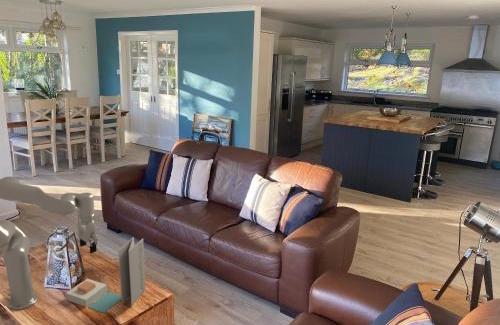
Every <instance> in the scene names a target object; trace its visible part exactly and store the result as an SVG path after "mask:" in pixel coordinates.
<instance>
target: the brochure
mask: <svg viewBox="0 0 500 325" xmlns="http://www.w3.org/2000/svg"><path fill="white" fill-rule="evenodd" d="M134 239H135V237H134V236H133V237H131V239H129V240H128V241H126V243H125V244H123V245H122V247H120V248H119V249H118V250H117V251H118V252H117V253H118V264H119V265H118V268H119V278H120V279H119V282H120V295H121V305H124V304H125V302H127V300H129V298H130V306H131V307H134V305H135V303H136V302H137V301H138V300H139V299H140V298H141V296H142V295H143V294H144V292H145V291H146V270H145V269H146V268H145V250H144V249H145V248H144V238H141V239H140V240H139V241H138V242H137V243H136V244H135V240H134Z"/></svg>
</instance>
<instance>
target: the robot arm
mask: <svg viewBox="0 0 500 325" xmlns="http://www.w3.org/2000/svg"><path fill="white" fill-rule="evenodd" d="M0 199H1V200H4V201H9V202H14V203H21V204H24V205H31V206H34V207H36V208H38V209H39V210H42V211H44V212H47V213H51V214H55V215H56V214H57V215H61V216H68V215H71V214H73V213H74V212H75V211H76V209H77V237H78V239H79V247H80V248H82V247H84V246H87V243H89V254H94V253H96V252H97V249H98V248H97V244H98V238H97V232H96V223H95V220H96V219H95V218H96V217H95V203H94V202H95V200H94V199H95V198H94V195H93V193H91V192H81V193H78V192H77V193H76V192H65V193H63V194H62V195H61V196H60V198H58V197H54V196H50V195H49V194H47V193H46V192H44V190H42V188H40V187H38V186H35V185H34V186H33V185H28V184H24V183H21V182H20V179H18V178H16V176H15V177H14V176H4V177H3V178H0ZM4 247H6V248H5V250H4V251H3V252H4V253H3V262H4V266H5V270H6V274H7V281H8V286H9V292H8V293H7V296H8V297H10V300H8V301H7V302H8V303H7V306H8V308H9V309H10V310H13V311H14V310H15V311H17V310H18V311H20V310H24V309H27V308H29V307H31V306H33V305H35V303H37V302H38V300H39V296H38V294H37V293H35V292H34V286H33V278H32V271H31V264H30V260H29V251H30V248H31V240H30V238H29V237H28V236H27V235H26V234H25V233H24V232H23V231H22V230H21V229H20V228H19V226H17V225H16V224H15V223H13V222H12V221H11V220H7V219H0V248H4Z"/></svg>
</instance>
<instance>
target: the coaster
mask: <svg viewBox="0 0 500 325" xmlns="http://www.w3.org/2000/svg"><path fill="white" fill-rule="evenodd" d="M84 281H85V280H84ZM95 287H96V284H95V283H92V282H88V281H85V282H84V283H83V284H81V285H80V286H78V287H77V290H78V291H81V292H84V293H86V294H87V293H88V292H90V291H91V290H92V289H94V288H95Z"/></svg>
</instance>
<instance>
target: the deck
mask: <svg viewBox="0 0 500 325" xmlns="http://www.w3.org/2000/svg"><path fill="white" fill-rule="evenodd" d="M85 281H88V282H92V283H95V284H96V287H95V288H94V289H92V290H91V291H90V292H88V293H87V294H86V293H84V292H81V291H78V290H77V287H78V286H80V285H81V284H83V283H84V282H85ZM107 292H108V285H107V284H106V283H102V282H100V281H96V280H93V279H89V278H86V279H85V280H84V281H82V282H80V283H79V284H77V285H76V286H74V287H72V288H71V289H70V290H68V291H67V292H65V300H66V301H69V302H72V303H74V304H77V305H80V306H83V307H85V308H88V307H89V306H90V305H92V304H93V303H94V302H96V301H97V300H98V299H99V298H101V297H102V296H103V295H105V294H106V293H107Z"/></svg>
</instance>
